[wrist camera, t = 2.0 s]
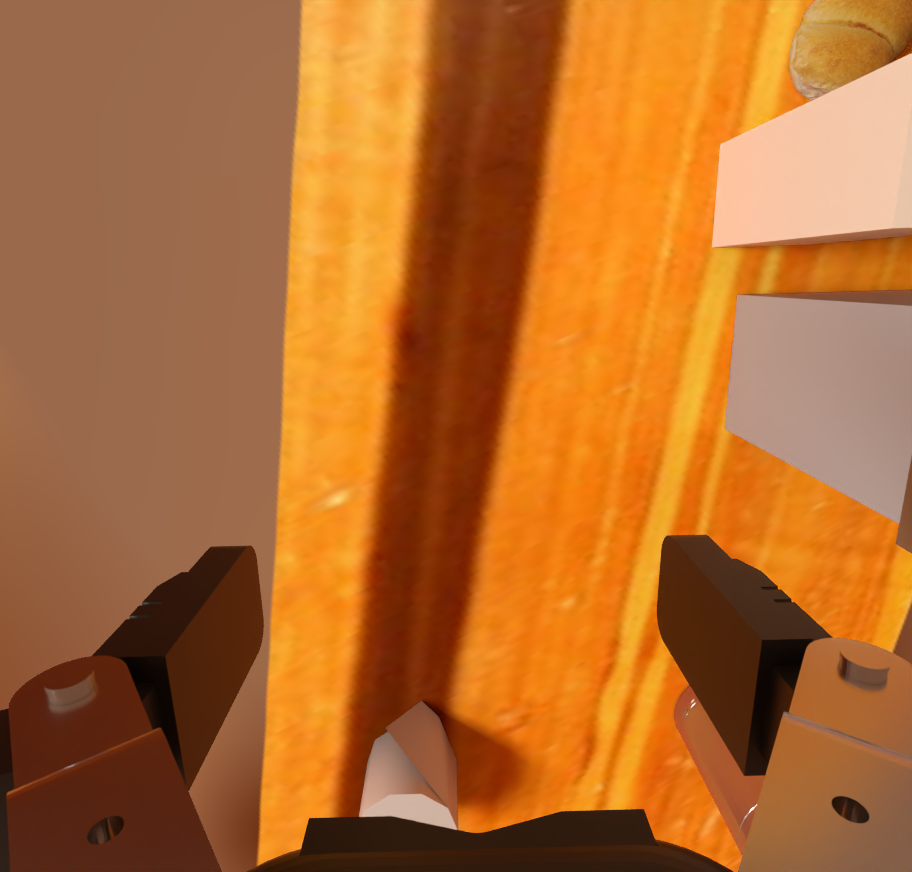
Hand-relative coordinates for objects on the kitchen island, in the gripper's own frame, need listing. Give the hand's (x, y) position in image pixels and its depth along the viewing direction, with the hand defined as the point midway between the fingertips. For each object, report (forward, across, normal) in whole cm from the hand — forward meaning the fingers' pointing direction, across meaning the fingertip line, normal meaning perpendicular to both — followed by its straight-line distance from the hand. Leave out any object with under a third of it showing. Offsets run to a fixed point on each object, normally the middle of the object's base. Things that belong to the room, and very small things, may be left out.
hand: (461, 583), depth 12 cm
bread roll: (+42, +31, +23) cm, 57 cm away
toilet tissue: (+42, -5, -43) cm, 60 cm away
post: (+42, +26, +12) cm, 51 cm away
